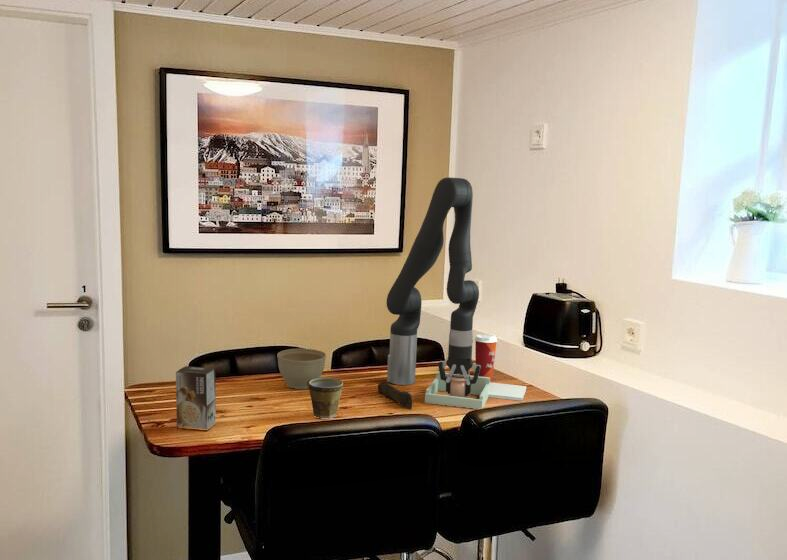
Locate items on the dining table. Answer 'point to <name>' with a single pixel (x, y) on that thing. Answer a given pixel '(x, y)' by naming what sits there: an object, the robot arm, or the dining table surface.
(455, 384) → the lidded jar
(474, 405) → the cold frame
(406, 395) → the hand tool
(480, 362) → the coffee cup
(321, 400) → the ceramic cup
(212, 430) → the dining table surface
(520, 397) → the pale green square plate
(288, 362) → the planter bowl
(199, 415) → the coffee box
